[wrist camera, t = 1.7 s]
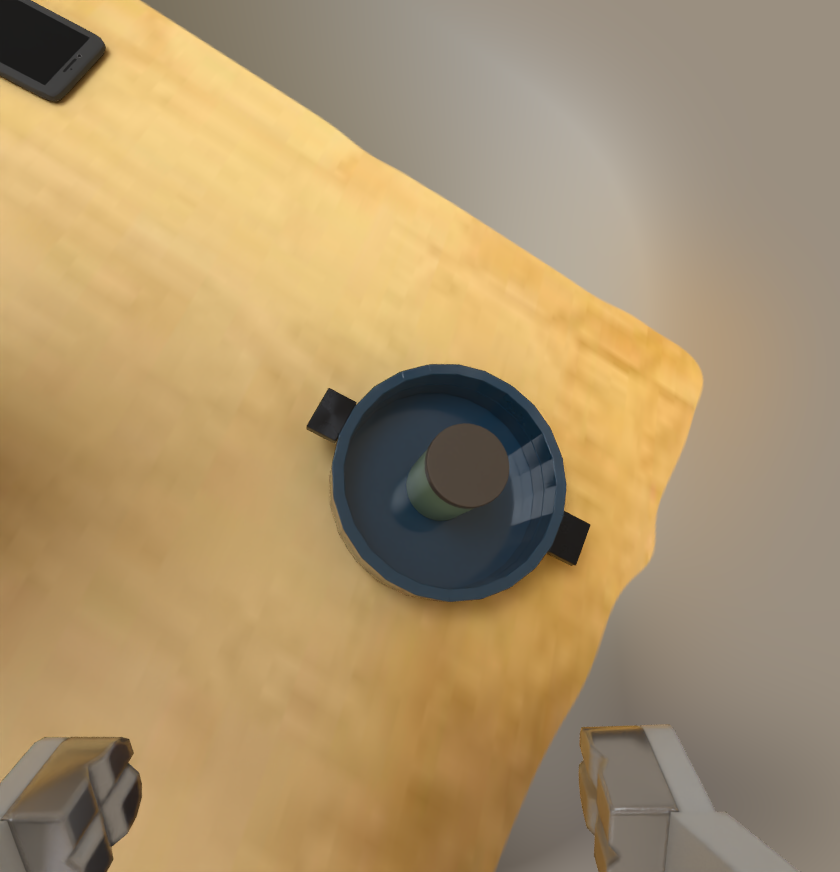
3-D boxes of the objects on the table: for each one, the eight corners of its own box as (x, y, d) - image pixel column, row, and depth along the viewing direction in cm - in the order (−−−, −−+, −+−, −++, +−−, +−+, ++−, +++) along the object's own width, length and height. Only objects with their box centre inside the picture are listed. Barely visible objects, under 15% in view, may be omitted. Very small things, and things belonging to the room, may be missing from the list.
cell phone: (-45, -34, 46) (-50, -43, 45) (111, 48, 47) (108, 40, 46) (-107, 21, 44) (-114, 11, 43) (57, 106, 45) (53, 98, 44)
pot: (288, 536, 40) (285, 529, 35) (390, 350, 45) (399, 325, 41) (492, 639, 41) (514, 645, 36) (569, 444, 46) (596, 430, 42)
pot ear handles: (306, 429, 38) (306, 426, 38) (328, 391, 39) (328, 387, 39) (571, 566, 40) (576, 565, 39) (585, 525, 41) (591, 524, 40)
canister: (392, 501, 41) (412, 482, 34) (423, 440, 43) (448, 408, 36) (456, 534, 42) (490, 522, 34) (484, 472, 44) (522, 447, 36)
